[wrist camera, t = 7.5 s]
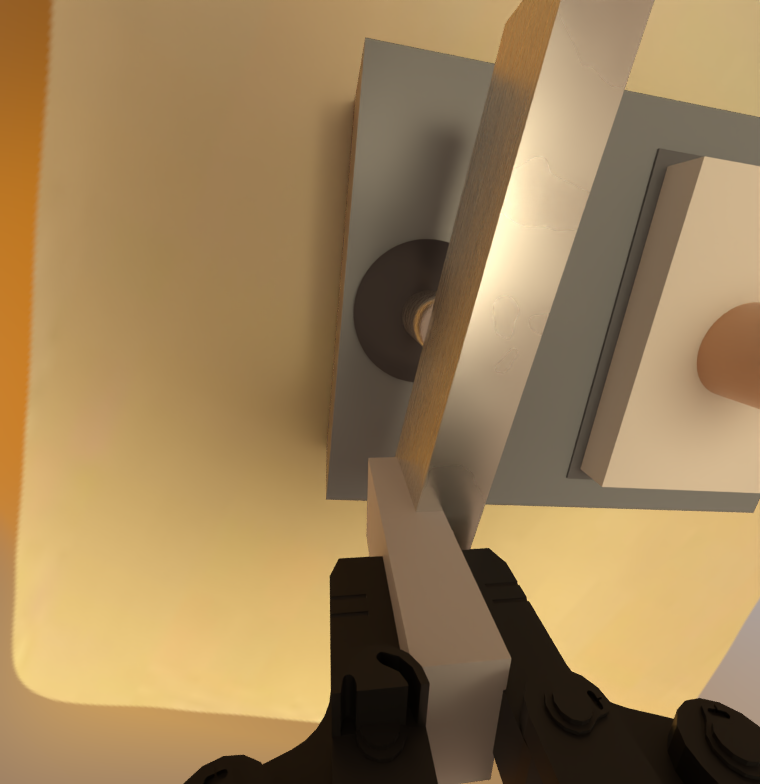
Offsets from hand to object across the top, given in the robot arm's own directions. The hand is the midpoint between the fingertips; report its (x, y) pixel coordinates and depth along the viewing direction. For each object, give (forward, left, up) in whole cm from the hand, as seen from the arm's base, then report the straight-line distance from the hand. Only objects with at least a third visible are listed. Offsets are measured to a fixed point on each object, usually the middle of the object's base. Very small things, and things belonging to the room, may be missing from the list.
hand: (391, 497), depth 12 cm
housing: (-5, +9, -9) cm, 14 cm away
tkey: (-5, +1, -4) cm, 7 cm away
